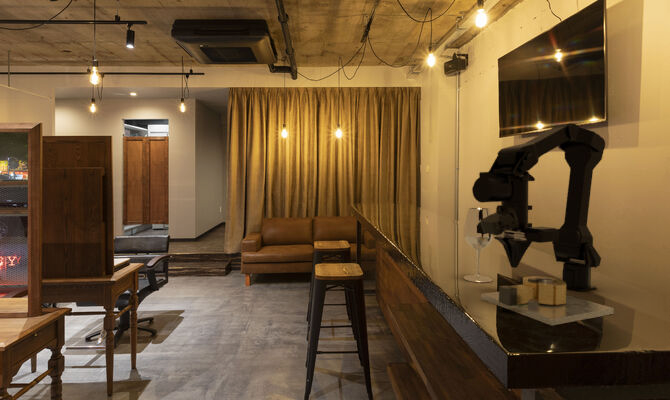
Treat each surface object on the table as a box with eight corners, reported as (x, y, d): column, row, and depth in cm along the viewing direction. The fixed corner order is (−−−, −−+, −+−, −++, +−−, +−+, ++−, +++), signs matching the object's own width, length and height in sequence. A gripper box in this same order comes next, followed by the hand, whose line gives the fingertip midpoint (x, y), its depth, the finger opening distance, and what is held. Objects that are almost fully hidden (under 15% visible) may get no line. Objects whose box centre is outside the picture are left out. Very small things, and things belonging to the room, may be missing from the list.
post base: (537, 291, 95) (537, 267, 94) (613, 313, 78) (614, 285, 78) (481, 299, 88) (481, 273, 87) (551, 325, 71) (552, 293, 71)
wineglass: (491, 277, 109) (493, 208, 108) (493, 284, 102) (495, 209, 101) (463, 275, 111) (464, 207, 111) (462, 281, 104) (464, 208, 103)
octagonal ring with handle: (489, 299, 82) (490, 278, 82) (540, 292, 88) (541, 272, 88) (519, 310, 75) (520, 287, 75) (573, 302, 80) (574, 280, 80)
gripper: (459, 200, 94) (459, 263, 95) (522, 204, 77) (522, 280, 77) (493, 199, 98) (493, 259, 99) (561, 202, 81) (560, 274, 82)
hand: (514, 267), depth 89 cm, fingers closed
